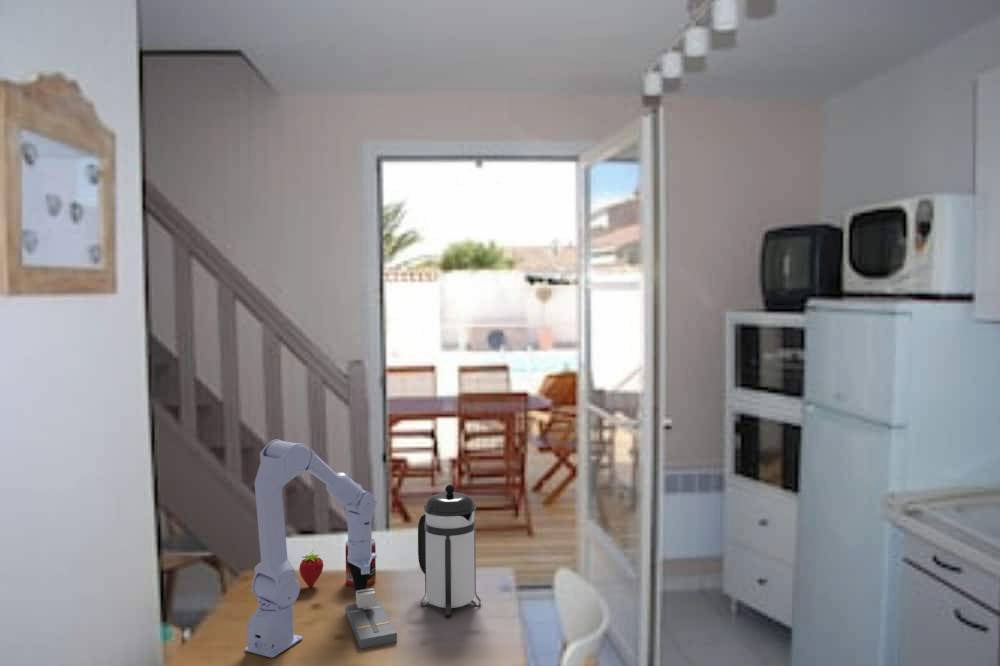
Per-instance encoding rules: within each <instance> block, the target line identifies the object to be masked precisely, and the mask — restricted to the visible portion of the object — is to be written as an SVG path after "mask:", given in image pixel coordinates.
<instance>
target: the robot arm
mask: <svg viewBox="0 0 1000 666" xmlns="http://www.w3.org/2000/svg"><path fill="white" fill-rule="evenodd" d="M259 461H260V463H259V467H258V468H257V469H258V470H257V473H256V476H255V479H254V492H255V493H254V494H255V506H256V516H257V529H258V542H259V551H260V562H259V563H258V564H257V565H256V566H254V568H253V569H254V574H253V575H254V577H253V579H252V584H251V590H252V593H253V595H255V596H256V597H257V603H258V606H257V609H256V610H255V612H254V613H252V615H250V616H249V618H248V621H247V623H246V624H247V625H246V626H247V628H246V629H247V632H246V634H247V646H246V647H245V648H244V651H245V652H249V653H253V654H256V655H259V656H263V657H266V658H275V657H277V656H279V654H281V653H283V652H285V651H286V650H287V649H289V648H291V647H292V646H294V645H295V644H297V643H298V642H300V641H301V640H303V636H302V635H297V634H295V633H294V631H295V630H294V629H295V627H294V625H295V622H294V605H295V602H296V600H297V599H298V597H299V595H300V593H301V592H300V591H301V584H300V581H299V579H298V578H297V576H296V569H295V567H294V566H293V565H292V563H291V562H290V560H289V558H288V549H287V546H288V545H287V538H286V522H285V510H284V501H283V500H284V499H283V488H284V487H285V486H286V484H288V483H289V482H291V481H293V480H294V479H295V478H296V477H297V476H299V475H300V474H301V473H302V472H304V471H306V472H308V473H310V474H311V475H312V476H314V477H315V478H317V479H318V480H320V481H321V482H322V483H323V484H325V485H326V486H325V487H326V488H325V490H326V492H327V493H328V494H329V495H330V496H331V497H333V498H334V499H336V500H337V501H338V502H340V504H341V506H342V509H343V510H344V511H347V541H348V557H347V561H348V562H349V563H350V564H348V565H347V566H348V568H349V570H350V572H351V575H352V578H353V583H354V587H353V588H354V592H355V593H356V591H358V590H364V589H367V587H368V586H367V582H368V578H369V575H370V573H371V571H372V569H373V566H372V565H371V561H372V559H373V558H376V559H377V558H378V557H377V553H372V539H373V538H372V537H373V535H372V534H373V533H372V532H373V531H372V530H373V529H372V520H373V519H374V511H375V510H376V507H377V503H378V502H377V500H376V498H375V496H374V494H373V493H372V492H371V491H368V490H364V489H363V485H362V484H361V483H357V482H355V480H353V479H352V478H351V477H352V475H351V474H350V473H349V472H341V471H340V472H336V471H335V470H333V469H332V468H331V467H330V466H329V465H328V464H327V463H326V462H325V461H324V460H323V459H322V458H321V457H320V456H318V455H317V454H316V452H315V450H313V449H311V448H309V447H308V446H307V445H306V444H305V443H301V442H299V443H296V442H290V441H284V440H282V439H273V440H271V441H269V442H268V443H267V444H266V445H265V446H264V448H263V449H262V450H261V451H260V452H259Z"/></svg>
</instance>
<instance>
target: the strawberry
mask: <svg viewBox="0 0 1000 666" xmlns="http://www.w3.org/2000/svg"><path fill="white" fill-rule="evenodd" d="M313 552H314V550H312V551H311V552H310V553H309V555H307V554H306V555H305V556H301V558H303V559H302V560H301V562H300V565H299V573H300V577H301V578H302V580H303V581H304V582H305V584H306V585H307V587H309V588H312V587H314V585H315V583H316V582H317V581H318V580H319V577H320V575H322V572H323V569H324V560H323V559H322V558H321V557H318V556H320V554H314V553H313Z"/></svg>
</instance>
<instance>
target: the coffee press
mask: <svg viewBox="0 0 1000 666" xmlns="http://www.w3.org/2000/svg"><path fill="white" fill-rule="evenodd" d="M444 490H445V492H439V493H437V494H434V495H432V496H430V497H429V498H428V499H427V501H426V502H425V504H424V505H423V511H424V513H425V514H422V516H420V518H419V521H418V525H417V555H418V556H417V557H418V558H417V559H418V564H419V567H420V570H421V572H422V573H423V574H424V587H425V588H424V596H422V598H421V600H420V605H421V607H426V606H427V605H428V604H431V605H433V606H435V607H438V608H443V609H445V611H444V618H452V611H453V609H454V608H461V607H464V606H467V605H468V604H470V603H472V604H473V606H475V607H477V606H476V603H477V602H476V601H475V600H474V597H475V598H476V600H478V602H479V603H478V604H479V606H478V607H480V606H481V603H482V600H481V599H480V597H479V596H478V594H477V576H476V575H477V573H476V572H477V565H476V564H477V563H476V562H477V561H476V559H477V557H476V555H477V554H476V549H477V548H476V541H477V540H476V518H475V511H476V510H477V504H476V503H475V502H474V499H473V498H472V497H471V496H470V495H468V494H465V493H462V492H455V491H456V490H455V486H453V485H452V484H447V485H446V486H445V489H444ZM425 597H426V599H427V602H426V603H424V602H422V601H423V600H425ZM452 608H453V609H452Z"/></svg>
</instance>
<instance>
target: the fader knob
mask: <svg viewBox="0 0 1000 666" xmlns="http://www.w3.org/2000/svg"><path fill="white" fill-rule="evenodd" d="M375 600H376V592H375V589H374V588H373V587H371V588H366V589H364V590H358V591H356V592H355V603H356V604H357V606H358V608H363V609H364V610H366V609H369V606H375Z"/></svg>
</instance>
